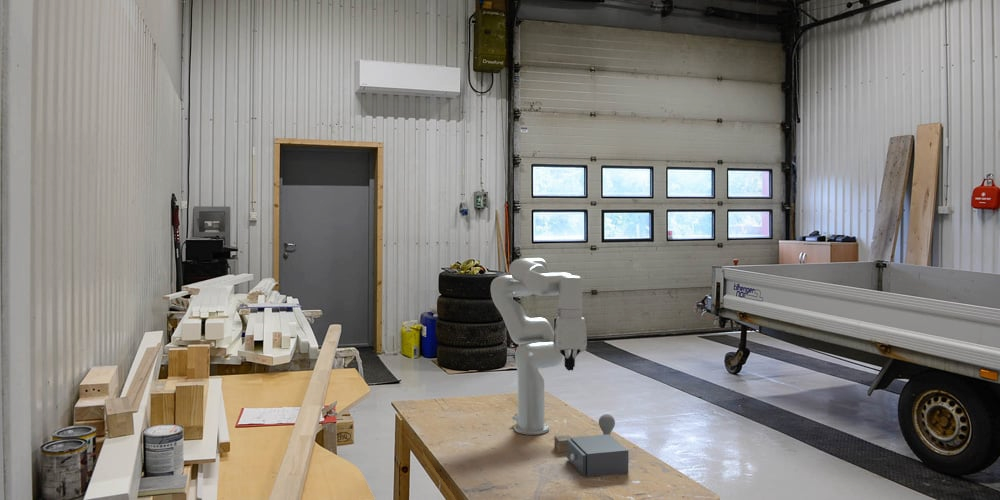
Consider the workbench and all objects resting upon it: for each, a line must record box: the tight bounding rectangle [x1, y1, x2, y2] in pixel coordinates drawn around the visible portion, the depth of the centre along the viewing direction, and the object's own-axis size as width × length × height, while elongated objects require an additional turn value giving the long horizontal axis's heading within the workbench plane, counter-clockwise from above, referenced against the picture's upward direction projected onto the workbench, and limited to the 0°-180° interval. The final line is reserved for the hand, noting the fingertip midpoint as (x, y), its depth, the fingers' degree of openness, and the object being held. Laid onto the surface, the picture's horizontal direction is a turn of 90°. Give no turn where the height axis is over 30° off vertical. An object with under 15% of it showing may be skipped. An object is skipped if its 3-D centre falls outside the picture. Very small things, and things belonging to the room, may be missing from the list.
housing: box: [570, 433, 629, 478], centre depth 198 cm, size 15×13×7 cm
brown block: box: [553, 434, 571, 454], centre depth 212 cm, size 5×5×4 cm
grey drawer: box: [566, 439, 586, 477], centre depth 197 cm, size 15×14×6 cm
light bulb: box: [598, 413, 616, 435], centre depth 218 cm, size 6×6×10 cm
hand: (569, 369), depth 210 cm, fingers closed
